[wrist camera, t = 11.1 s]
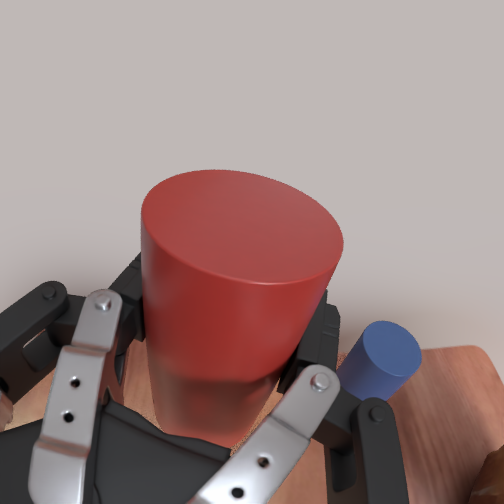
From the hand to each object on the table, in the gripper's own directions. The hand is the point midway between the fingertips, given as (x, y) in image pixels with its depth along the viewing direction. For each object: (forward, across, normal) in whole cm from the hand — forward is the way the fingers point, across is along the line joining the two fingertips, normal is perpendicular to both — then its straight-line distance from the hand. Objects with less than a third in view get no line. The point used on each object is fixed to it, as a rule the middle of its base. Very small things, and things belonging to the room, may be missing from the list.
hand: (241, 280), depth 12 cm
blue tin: (+5, -11, +18) cm, 21 cm away
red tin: (-3, 0, +6) cm, 7 cm away
